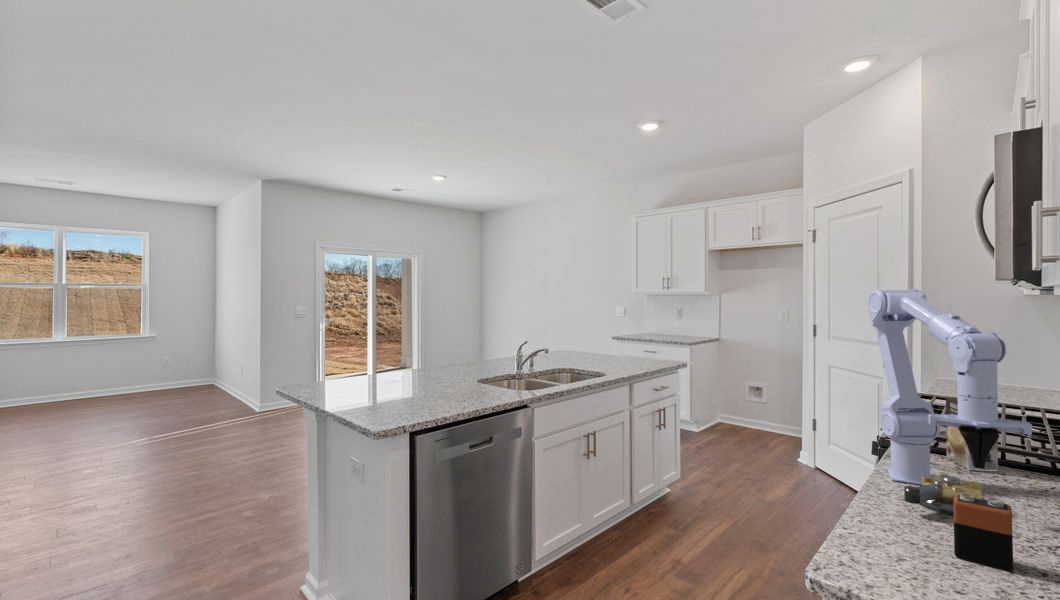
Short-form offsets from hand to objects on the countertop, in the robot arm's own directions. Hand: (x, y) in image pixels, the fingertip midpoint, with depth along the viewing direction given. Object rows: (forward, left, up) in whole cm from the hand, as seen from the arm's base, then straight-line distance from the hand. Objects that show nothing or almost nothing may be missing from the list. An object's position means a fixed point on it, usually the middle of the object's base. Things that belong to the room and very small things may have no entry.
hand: (978, 466), depth 94 cm
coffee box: (-36, +6, -10) cm, 37 cm away
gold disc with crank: (0, -6, -8) cm, 10 cm away
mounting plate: (-4, -3, -9) cm, 11 cm away
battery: (+20, -3, -10) cm, 23 cm away
